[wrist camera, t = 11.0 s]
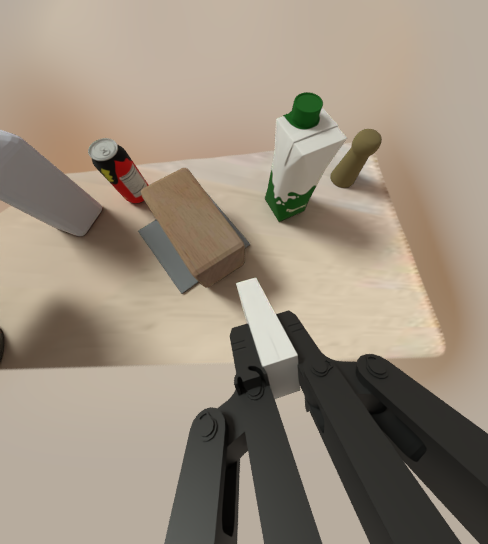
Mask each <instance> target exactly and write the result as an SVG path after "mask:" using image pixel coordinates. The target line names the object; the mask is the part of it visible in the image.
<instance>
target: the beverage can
mask: <svg viewBox="0 0 488 544" xmlns="http://www.w3.org/2000/svg"><path fill="white" fill-rule="evenodd" d="M88 153H89V156H90V157H91V158H92V162H93V164H94V166H95V167H96V168H97V169H98V170H99V171H100V173H101V174H102V175H103V176H104V177H105V178H106V179H107V180H108V181H109V182H110V183H111V184H112V185H113V186H114V188H115V189H116V190H117V191H118V192H119V193H120V194H121V195H122V196H123V197H124V198H125V199H126V200H127V201H129V202H131V203H140V202H143V201H144V199H143V197H142V194H141V190H142V189H143V188H145V187H147V186H149V185H148V183H147V182H146V180H145V179H144V177H143V176H142V175H141V173H140V172H139V170H138V169H137V167H136V166H135V164H134V163H133V161H132V160H131V158H130V157H129V155H128V154H127V152H126V151H125V150H124V149H123V148H122V147H121V146H119V145H117V143H116V142H115V141H114V140H112V139H108V138H103V139H99V140H96V141H95V142H93V143H92V144H91V145H90V147H89V150H88Z"/></svg>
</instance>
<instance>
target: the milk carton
mask: <svg viewBox="0 0 488 544" xmlns="http://www.w3.org/2000/svg"><path fill="white" fill-rule="evenodd" d="M322 106H323V101H322V99H321V98H320V97H319V96H318V95H316V94H313V93H307V92H306V93H301V94H299V95H298V96H296V98H295V100H294V104H293V108H292V111H291V112H290V113H289V114H286V115H283V117H279V118H277V119H276V135H275V151H274V157H273V163H272V168H271V173H270V179H269V184H268V189H267V193H266V196H265V200H266V202H267V203H268V205H269V207H270V208H271V210H272V211H273V213H274V215H275V216H276V218H277V220H278V221H279V222H280V221H282V220H285V219H287V218H289V217H292V216H294V215H296V214H298V213H301V212H303V211H304V210H305V208H306V205H307V203H308V201H309V199H310V197H311V195H312V193H313V191H314V190H315V188H316V186H317V184H318V182H319V180H320V178H321V177H322V175H323V173H324V171H325V169H326V168H327V166H328V165H329V163H330V162H331V160H332V159H333V157H334V156H335V155H336V153H337V152H338V150H339V149H340V148H341V146H342V145H343V143H344V142H345V141H346V139H347V137H346V136H345V135H344V134H343V132H341V130H340V129H339V128H338V124H337V123H336V122H335V121H334V120H333V119H332V118H331V117H330V116H329V115H328V114H327V112H326V111H325V110H324V109H323V108H322Z"/></svg>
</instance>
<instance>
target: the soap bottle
mask: <svg viewBox="0 0 488 544" xmlns="http://www.w3.org/2000/svg"><path fill="white" fill-rule="evenodd" d="M0 200H2V201H3V202H5V203H7V204H9V205H11V206H13V207H15V208H17V209H19V210H21V211H23V212H25V213H27V214H29V215H31V216H33V217H35V218H37V219H38V220H40V221H42V222H44V223H46V224H48V225H50V226H52V227H54V228H57V229H60V230H62V231H65V232H68V233H70V234H73V235H76V236H84V235H85V234H86V233H87V231H88V230H89V228H90V227H91V225H92V224H93V223H94V221H95V220H96V218H97V217H98V215H99V214H100V212H101V211H102V206H101V205H100V204H99V203H98V202H97V201H96V200H95V199H93V198H92V197H91V196H90V195H89V194H88V193H86V192H85V191H84V190H83V189H82V188H80V187H79V186H78V185H77V184H76V183H74V182H73V181H72V180H71V179H70V178H69V177H67V176H66V175H65V174H64V173H63V172H61V171H60V170H59V169H58V168H57V167H55V166H54V165H53V164H52V163H51V162H50V161H48V160H47V159H46V158H45V157H44V156H42V155H41V154H40V153H39V152H37V151H36V150H35V149H34V148H33V147H32V146H31V145H29V144H28V143H27V142H26V141H24V140H23V139H22V138H21V137H19V136H17V135H15V134H12V133H9V132H6V131H2V130H0Z"/></svg>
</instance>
